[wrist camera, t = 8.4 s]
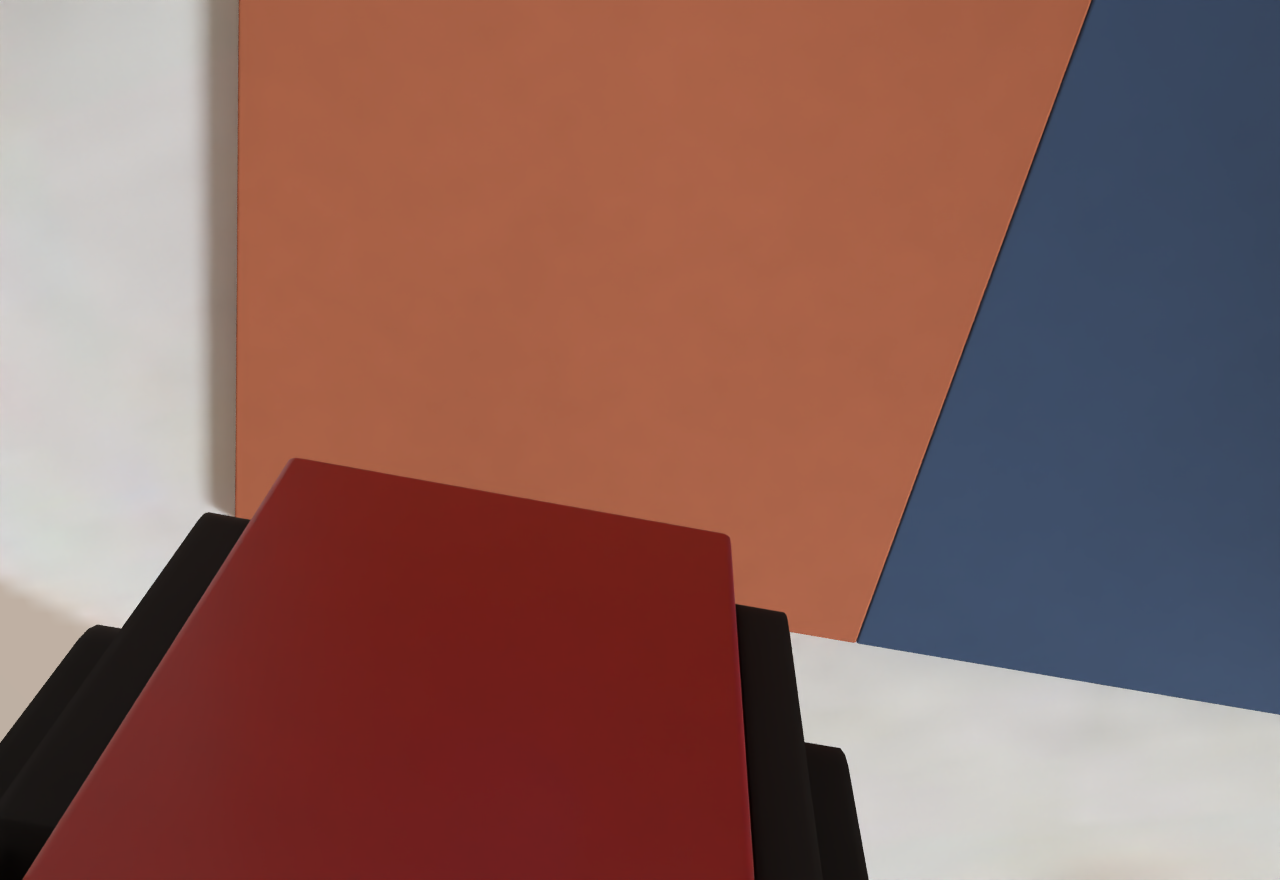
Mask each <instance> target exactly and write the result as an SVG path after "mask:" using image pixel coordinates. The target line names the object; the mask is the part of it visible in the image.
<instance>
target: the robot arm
mask: <svg viewBox="0 0 1280 880" xmlns="http://www.w3.org/2000/svg"><path fill="white" fill-rule="evenodd" d="M249 522H250V520H249V519H244V518H238V517H232V516H226V515H221V514H215V513H209V512H208V513H205V514H203V516H202V517H201V518H200V519H199V520H198V521H197V523H196V524H195V526H194V527H193V528H192V530H191V531H190V533H189V534H188V535H187V537H186V538H185V540H184V541H183V542H182V544H181V545H180V547H179V548H178V550H177V551H176V552H175V554H174V555H173V557H172V558H171V559H170V561H169V562H168V564H167V565H166V566H165V568H164V569H163V571H162V572H161V573H160V575H159V576H158V578H157V579H156V581H155V582H154V583H153V585H152V586H151V588H150V589H149V590H148V592H147V593H146V595H145V596H144V597H143V599H142V600H141V602H140V603H139V604H138V606H137V607H136V609H135V610H134V611H133V613H132V614H131V616H130V617H129V619H128V620H127V621H126V623H125V624H124V626H123V627H122V628H121V629H120V628H114V627H108V626H102V625H96V626H94V627H91V628H89V629H88V630H87V631H86V632H85V633H84V634H83V635H82V636H81V637H80V638H79V639H78V641H77V642H76V643H75V645H74V646H73V647H72V649H71V650H70V651H69V653H68V654H67V655H66V656H65V658H64V659H63V661H62V662H61V663H60V665H59V666H58V667H57V668H56V670H55V671H54V672H53V674H52V675H51V676H50V678H49V679H48V680H47V682H46V683H45V685H44V686H43V687H42V688H41V690H40V691H39V692H38V694H37V695H36V696H35V698H34V699H33V700H32V702H31V703H30V704H29V706H28V707H27V708H26V710H25V711H24V712H23V713H22V715H21V716H20V718H19V719H18V720H17V722H16V723H15V724H14V725H13V727H12V728H11V729H10V731H9V732H8V733H7V735H6V736H5V737H4V739H3V740H2V741H1V743H0V880H23V878H24V876H25V874H26V873H27V871H28V870H29V868H30V867H31V865H32V863H33V862H34V860H35V859H36V857H37V856H38V854H39V852H40V851H41V849H42V848H43V846H44V845H45V843H46V841H47V840H48V838H49V837H50V835H51V834H52V832H53V830H54V829H55V827H56V826H57V824H58V822H59V821H60V819H61V818H62V816H63V815H64V813H65V811H66V810H67V808H68V807H69V805H70V804H71V802H72V800H73V799H74V797H75V796H76V794H77V793H78V791H79V789H80V788H81V786H82V785H83V783H84V782H85V780H86V778H87V777H88V775H89V774H90V772H91V771H92V769H93V767H94V766H95V764H96V763H97V761H98V760H99V758H100V756H101V755H102V753H103V752H104V750H105V749H106V747H107V745H108V744H109V742H110V741H111V739H112V738H113V736H114V734H115V733H116V731H117V730H118V728H119V726H120V725H121V723H122V722H123V720H124V719H125V717H126V715H127V714H128V712H129V711H130V709H131V708H132V706H133V704H134V703H135V701H136V700H137V698H138V697H139V695H140V693H141V692H142V690H143V689H144V687H145V686H146V684H147V682H148V681H149V679H150V678H151V676H152V675H153V673H154V671H155V670H156V668H157V667H158V665H159V664H160V662H161V660H162V659H163V657H164V656H165V654H166V653H167V651H168V649H169V648H170V646H171V645H172V643H173V641H174V640H175V638H176V637H177V635H178V634H179V632H180V630H181V629H182V627H183V626H184V624H185V623H186V621H187V619H188V618H189V616H190V615H191V613H192V612H193V610H194V608H195V607H196V605H197V604H198V602H199V601H200V599H201V597H202V596H203V594H204V593H205V591H206V590H207V588H208V586H209V585H210V583H211V582H212V580H213V579H214V577H215V575H216V574H217V572H218V571H219V569H220V568H221V566H222V564H223V563H224V561H225V560H226V558H227V557H228V555H229V553H230V552H231V550H232V549H233V547H234V545H235V544H236V542H237V541H238V539H239V538H240V536H241V534H242V533H243V531H244V530H245V528H246V527H247V525H248V523H249ZM735 607H736V621H737V636H738V650H739V664H740V679H741V693H742V708H743V722H744V736H745V751H746V765H747V780H748V794H749V808H750V823H751V837H752V852H753V866H754V880H868V874H867V868H866V863H865V857H864V852H863V846H862V840H861V835H860V829H859V824H858V818H857V812H856V807H855V801H854V796H853V790H852V785H851V779H850V773H849V768H848V764H847V760H846V757H845V754H844V753H843V751H842V750H841V749H840V748H836V747H830V746H824V745H818V744H812V743H806V742H804V736H803V728H802V721H801V714H800V706H799V699H798V691H797V684H796V676H795V669H794V662H793V654H792V647H791V639H790V632H789V625H788V619H787V615H786V614H785V613H784V612H780V611H774V610H768V609H762V608H757V607H751V606H745V605H739V604H735Z"/></svg>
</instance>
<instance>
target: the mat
mask: <svg viewBox="0 0 1280 880" xmlns="http://www.w3.org/2000/svg"><path fill="white" fill-rule="evenodd" d="M291 458H302V459H308V460H314V461H319V462H325V463H331V464H336V465H342V466H347V467H353V468H359V469H364V470H370V471H376V472H381V473H387V474H392V475H398V476H404V477H409V478H415V479H421V480H426V481H432V482H437V483H443V484H449V485H454V486H460V487H466V488H471V489H477V490H483V491H488V492H494V493H499V494H505V495H511V496H516V497H522V498H528V499H533V500H539V501H544V502H550V503H556V504H561V505H567V506H573V507H578V508H584V509H589V510H595V511H601V512H606V513H612V514H618V515H623V516H629V517H634V518H640V519H646V520H651V521H657V522H663V523H668V524H674V525H680V526H685V527H691V528H696V529H702V530H708V531H713V532H719V533H724V534H726V535H728V536H729V537H730V540H731V549H732V564H733V578H734V592H735V604H739V605H745V606H751V607H757V608H762V609H768V610H774V611H780V612H784V613H785V614H786V615H787V619H788V625H789V632H794V633H800V634H806V635H811V636H817V637H823V638H829V639H835V640H841V641H847V642H853V643H854V642H857V643H859V644H865V645H871V646H877V647H883V648H888V649H894V650H900V651H906V652H912V653H918V654H924V655H930V656H936V657H942V658H948V659H954V660H959V661H965V662H971V663H977V664H983V665H989V666H995V667H1001V668H1007V669H1013V670H1019V671H1025V672H1030V673H1036V674H1042V675H1048V676H1054V677H1060V678H1066V679H1072V680H1078V681H1084V682H1090V683H1096V684H1101V685H1107V686H1113V687H1119V688H1125V689H1131V690H1137V691H1143V692H1149V693H1155V694H1161V695H1167V696H1172V697H1178V698H1184V699H1190V700H1196V701H1202V702H1208V703H1214V704H1220V705H1226V706H1232V707H1238V708H1243V709H1249V710H1255V711H1261V712H1267V713H1273V714H1279V715H1280V0H239V42H238V186H237V331H236V476H235V517H238V518H244V519H249V520H251V519H252V517H253V516H254V514H255V512H256V511H257V509H258V508H259V506H260V505H261V503H262V501H263V500H264V498H265V497H266V495H267V494H268V492H269V490H270V489H271V487H272V486H273V484H274V483H275V481H276V479H277V478H278V476H279V475H280V473H281V472H282V470H283V468H284V467H285V465H286V464H287V462H288V460H289V459H291Z"/></svg>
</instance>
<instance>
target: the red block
mask: <svg viewBox="0 0 1280 880" xmlns="http://www.w3.org/2000/svg"><path fill="white" fill-rule="evenodd" d="M23 880H754V866H753V852H752V837H751V823H750V808H749V794H748V780H747V765H746V751H745V736H744V722H743V708H742V693H741V679H740V664H739V650H738V636H737V621H736V607H735V592H734V578H733V564H732V549H731V540H730V537H729V536H728V535H726V534H724V533H719V532H713V531H708V530H702V529H696V528H691V527H685V526H680V525H674V524H668V523H663V522H657V521H651V520H646V519H640V518H634V517H629V516H623V515H618V514H612V513H606V512H601V511H595V510H589V509H584V508H578V507H573V506H567V505H561V504H556V503H550V502H544V501H539V500H533V499H528V498H522V497H516V496H511V495H505V494H499V493H494V492H488V491H483V490H477V489H471V488H466V487H460V486H454V485H449V484H443V483H437V482H432V481H426V480H421V479H415V478H409V477H404V476H398V475H392V474H387V473H381V472H376V471H370V470H364V469H359V468H353V467H347V466H342V465H336V464H331V463H325V462H319V461H314V460H308V459H302V458H291V459H289V460H288V462H287V464H286V465H285V467H284V468H283V470H282V472H281V473H280V475H279V476H278V478H277V479H276V481H275V483H274V484H273V486H272V487H271V489H270V490H269V492H268V494H267V495H266V497H265V498H264V500H263V501H262V503H261V505H260V506H259V508H258V509H257V511H256V512H255V514H254V516H253V517H252V519H251V520H250V522H249V523H248V525H247V527H246V528H245V530H244V531H243V533H242V534H241V536H240V538H239V539H238V541H237V542H236V544H235V545H234V547H233V549H232V550H231V552H230V553H229V555H228V557H227V558H226V560H225V561H224V563H223V564H222V566H221V568H220V569H219V571H218V572H217V574H216V575H215V577H214V579H213V580H212V582H211V583H210V585H209V586H208V588H207V590H206V591H205V593H204V594H203V596H202V597H201V599H200V601H199V602H198V604H197V605H196V607H195V608H194V610H193V612H192V613H191V615H190V616H189V618H188V619H187V621H186V623H185V624H184V626H183V627H182V629H181V630H180V632H179V634H178V635H177V637H176V638H175V640H174V641H173V643H172V645H171V646H170V648H169V649H168V651H167V653H166V654H165V656H164V657H163V659H162V660H161V662H160V664H159V665H158V667H157V668H156V670H155V671H154V673H153V675H152V676H151V678H150V679H149V681H148V682H147V684H146V686H145V687H144V689H143V690H142V692H141V693H140V695H139V697H138V698H137V700H136V701H135V703H134V704H133V706H132V708H131V709H130V711H129V712H128V714H127V715H126V717H125V719H124V720H123V722H122V723H121V725H120V726H119V728H118V730H117V731H116V733H115V734H114V736H113V738H112V739H111V741H110V742H109V744H108V745H107V747H106V749H105V750H104V752H103V753H102V755H101V756H100V758H99V760H98V761H97V763H96V764H95V766H94V767H93V769H92V771H91V772H90V774H89V775H88V777H87V778H86V780H85V782H84V783H83V785H82V786H81V788H80V789H79V791H78V793H77V794H76V796H75V797H74V799H73V800H72V802H71V804H70V805H69V807H68V808H67V810H66V811H65V813H64V815H63V816H62V818H61V819H60V821H59V822H58V824H57V826H56V827H55V829H54V830H53V832H52V834H51V835H50V837H49V838H48V840H47V841H46V843H45V845H44V846H43V848H42V849H41V851H40V852H39V854H38V856H37V857H36V859H35V860H34V862H33V863H32V865H31V867H30V868H29V870H28V871H27V873H26V874H25V876H24V878H23Z"/></svg>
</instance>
